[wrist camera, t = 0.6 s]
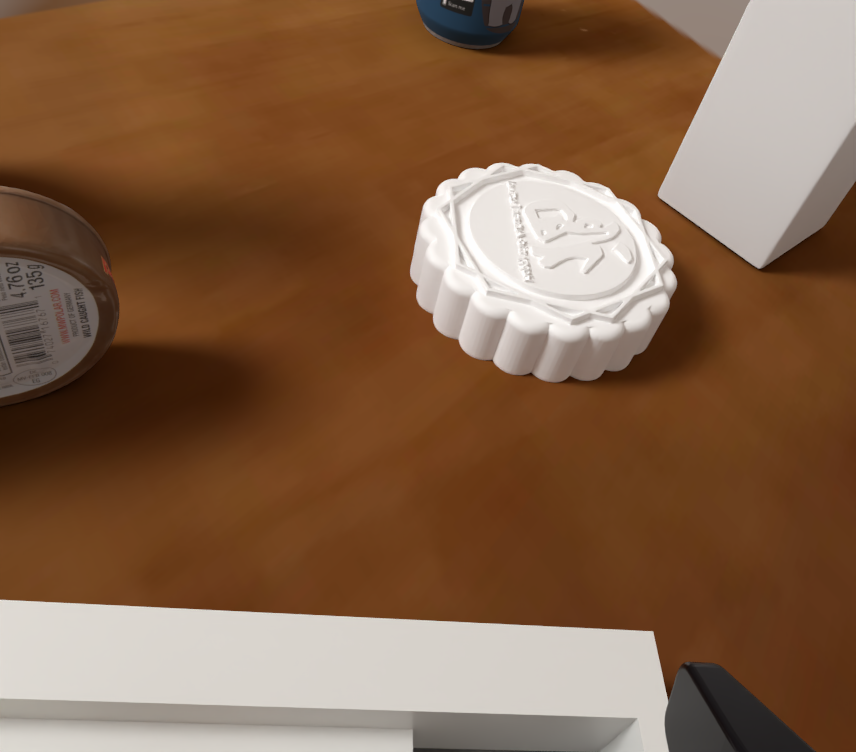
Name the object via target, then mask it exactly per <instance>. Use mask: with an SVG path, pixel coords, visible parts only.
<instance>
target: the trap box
mask: <svg viewBox="0 0 856 752" xmlns="http://www.w3.org/2000/svg"><path fill="white" fill-rule="evenodd" d="M667 705H668V699H667V694H666V689H665V685H664V680H663V675H662V671H661V666H660V661H659V657H658V652H657V648H656V643H655V638H654V634H653V631H632V630H611V629H591V628H570V627H549V626H529V625H508V624H487V623H467V622H446V621H425V620H405V619H384V618H363V617H343V616H322V615H301V614H281V613H260V612H239V611H219V610H198V609H177V608H157V607H136V606H115V605H95V604H74V603H53V602H33V601H12V600H0V752H669V750H668V745H667V740H666V734H665V725H664V721H665V712H666V708H667Z"/></svg>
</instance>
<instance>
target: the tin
mask: <svg viewBox="0 0 856 752" xmlns="http://www.w3.org/2000/svg"><path fill="white" fill-rule="evenodd" d="M118 319H119V299H118V295H117V290H116V286H115V283H114V280H113V277H112V274H111V262H110V257H109V253H108V250H107V248H106V246H105V244H104V242H103V240H102V239H101V237H100V235H99V234H98V233H97V231H96V230H95V229H94V228H93V227H92V226H91V225H90V224H89V223H88V222H87V221H86V220H85V219H84V218H83V217H81V216H80V215H79V214H78V213H76V212H75V211H73V210H72V209H71V208H69V207H67V206H65V205H63V204H61V203H59V202H57V201H54V200H52V199H50V198H47V197H44V196H42V195H39V194H36V193H32V192H29V191H25V190H21V189H17V188H9V187H6V186H0V407H1V406H6V405H10V404H15V403H19V402H23V401H26V400H30V399H33V398H37V397H40V396H43V395H45V394H48V393H50V392H53V391H55V390H57V389H59V388H61V387H63V386H65V385H67V384H69V383H71V382H73V381H74V380H76V379H78V378H79V377H81V376H82V375H83V374H85V373H86V372H87V371H88V370H89V369H91V368H92V367H93V366H94V365H95V364H96V363H97V362H98V361H99V360H100V359H101V358H102V357H103V355H104V354H105V353H106V351H107V350H108V348H109V347H110V345H111V343H112V341H113V339H114V336H115V333H116V329H117V325H118Z"/></svg>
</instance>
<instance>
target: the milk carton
mask: <svg viewBox="0 0 856 752" xmlns="http://www.w3.org/2000/svg"><path fill="white" fill-rule="evenodd" d="M855 181H856V0H750V2H749V4H748V6H747V8H746V10H745V13H744V15H743V17H742V19H741V21H740V23H739V25H738V27H737V29H736V31H735V33H734V35H733V37H732V40H731V42H730V44H729V46H728V48H727V50H726V52H725V54H724V56H723V58H722V60H721V63H720V65H719V67H718V69H717V71H716V73H715V75H714V77H713V79H712V81H711V83H710V85H709V88H708V90H707V92H706V94H705V96H704V98H703V100H702V102H701V104H700V106H699V108H698V111H697V113H696V115H695V117H694V119H693V121H692V123H691V125H690V127H689V129H688V131H687V134H686V136H685V138H684V140H683V142H682V144H681V146H680V148H679V150H678V152H677V154H676V156H675V159H674V161H673V163H672V165H671V167H670V169H669V171H668V173H667V175H666V177H665V179H664V182H663V184H662V186H661V188H660V190H659V192H658V197H659V198H661V199H662V200H663V201H664V202H666V203H667V204H669V205H670V206H671V207H673V208H674V209H675V210H677V211H678V212H680V213H681V214H682V215H684V216H685V217H687V218H688V219H689V220H691V221H692V222H694V223H695V224H696V225H698V226H699V227H700V228H702V229H703V230H705V231H706V232H707V233H709V234H710V235H712V236H713V237H714V238H716V239H717V240H719V241H720V242H721V243H723V244H724V245H725V246H727V247H728V248H730V249H731V250H732V251H734V252H735V253H737V254H738V255H739V256H741V257H742V258H744V259H745V260H746V261H748V262H749V263H751V264H752V265H753V266H755V267H757V268H758V269H761V268H763V267H764V266H766V265H767V264H769V263H770V262H772V261H773V260H775V259H776V258H778V257H779V256H781V255H782V254H784V253H785V252H787V251H788V250H790V249H791V248H793V247H794V246H796V245H797V244H799V243H800V242H802V241H803V240H804V239H806V238H807V237H809V236H810V235H812V234H813V233H815V232H816V231H818V230H819V229H821V228H822V227H824V225H825V224H826V223H827V222H828V220H829V219H830V217H831V216H832V214H833V213H834V211H835V210H836V209H837V207H838V206H839V204H840V203H841V201H842V200H843V199H844V197H845V196H846V194H847V193H848V191H849V190H850V188H851V187H852V186H853V184H854V183H855Z"/></svg>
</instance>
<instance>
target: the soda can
mask: <svg viewBox="0 0 856 752" xmlns="http://www.w3.org/2000/svg"><path fill="white" fill-rule="evenodd" d="M416 2H417V6H418V10H419V12H420V15H421V18H422V20H423V23H424V26H425V27H426V29H427V30H428V31H429V32H430V33H431V34H432V35H434V36H435V37H437V38H438V39H440V40H442V41H444V42H447V43H449V44H452V45H455V46H459V47H463V48H470V49H485V48H491V47H494V46H496V45H498V44H499V43H501V42H502V41H503V40H504V39H505V38H506V37H507V36H508V35H509V34H510V33H511V32H512V31H513V29H514V28H515V27H516V25H517V24H518V21H519V18H520V14H521V10H522V6H523V2H524V0H416Z"/></svg>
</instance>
